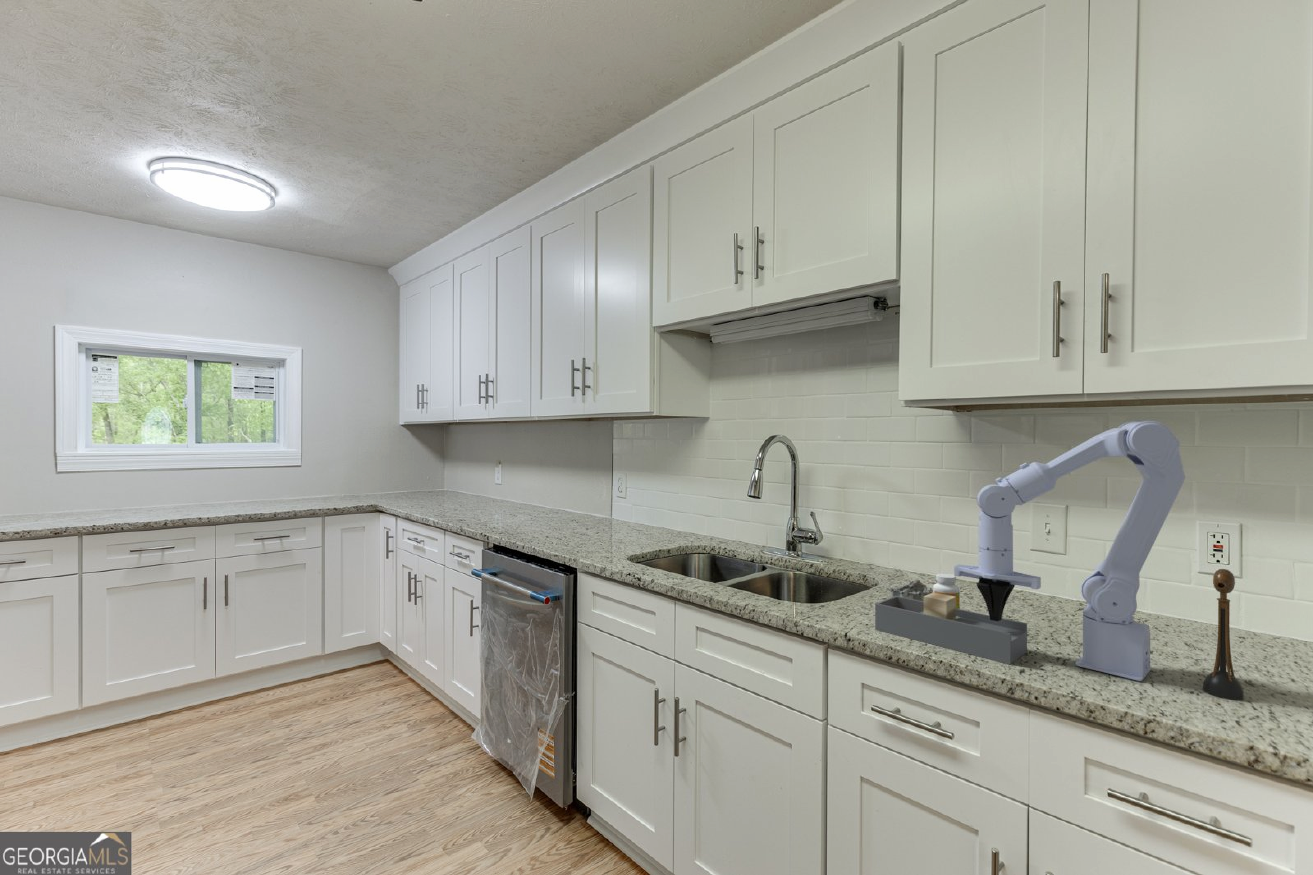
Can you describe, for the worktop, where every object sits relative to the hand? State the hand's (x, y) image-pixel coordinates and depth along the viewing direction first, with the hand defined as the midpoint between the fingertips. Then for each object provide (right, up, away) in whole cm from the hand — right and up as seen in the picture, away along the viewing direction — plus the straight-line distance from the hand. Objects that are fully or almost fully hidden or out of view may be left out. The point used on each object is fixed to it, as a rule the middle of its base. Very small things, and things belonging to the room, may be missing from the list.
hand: (995, 619), depth 115 cm
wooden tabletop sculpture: (+26, -7, -18) cm, 32 cm away
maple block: (-7, -2, +8) cm, 11 cm away
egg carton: (-1, -6, +36) cm, 36 cm away
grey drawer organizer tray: (-6, -6, +7) cm, 11 cm away
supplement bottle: (0, -6, +21) cm, 22 cm away
